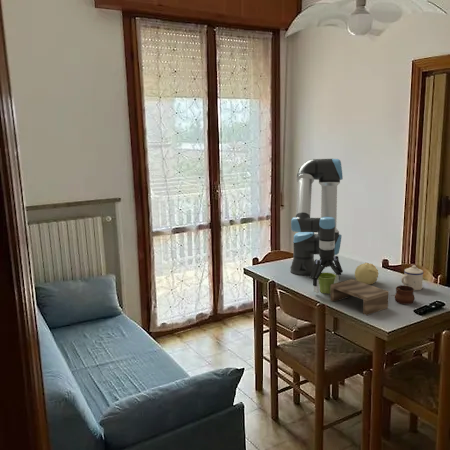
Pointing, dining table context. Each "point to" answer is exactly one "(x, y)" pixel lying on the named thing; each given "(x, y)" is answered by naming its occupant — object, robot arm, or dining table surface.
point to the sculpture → (366, 273)
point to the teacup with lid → (413, 277)
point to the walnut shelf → (361, 295)
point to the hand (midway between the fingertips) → (326, 289)
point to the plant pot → (326, 282)
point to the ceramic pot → (404, 295)
